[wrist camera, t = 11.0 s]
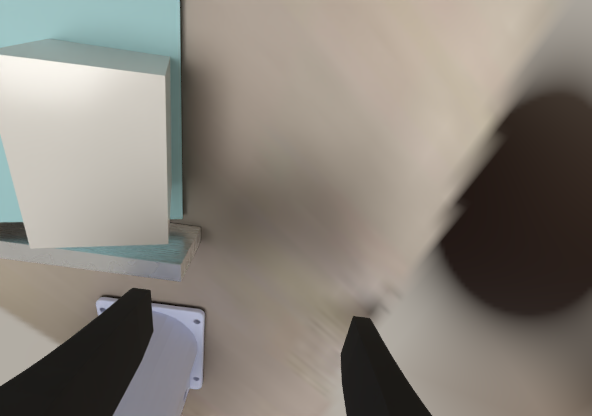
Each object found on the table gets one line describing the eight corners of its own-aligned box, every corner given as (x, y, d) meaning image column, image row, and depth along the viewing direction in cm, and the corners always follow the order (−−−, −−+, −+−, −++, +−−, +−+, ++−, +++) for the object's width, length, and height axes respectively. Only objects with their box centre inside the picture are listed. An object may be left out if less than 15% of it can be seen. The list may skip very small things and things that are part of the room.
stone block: (171, 185, 19) (168, 244, 14) (72, 182, 18) (30, 248, 13) (170, 56, 16) (164, 75, 11) (48, 38, 14) (-22, 51, 9)
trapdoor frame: (200, 243, 22) (176, 292, 18) (-60, 207, 21) (-150, 251, 17) (205, -55, 14) (165, -92, 10) (-199, -131, 14) (-429, -207, 9)
